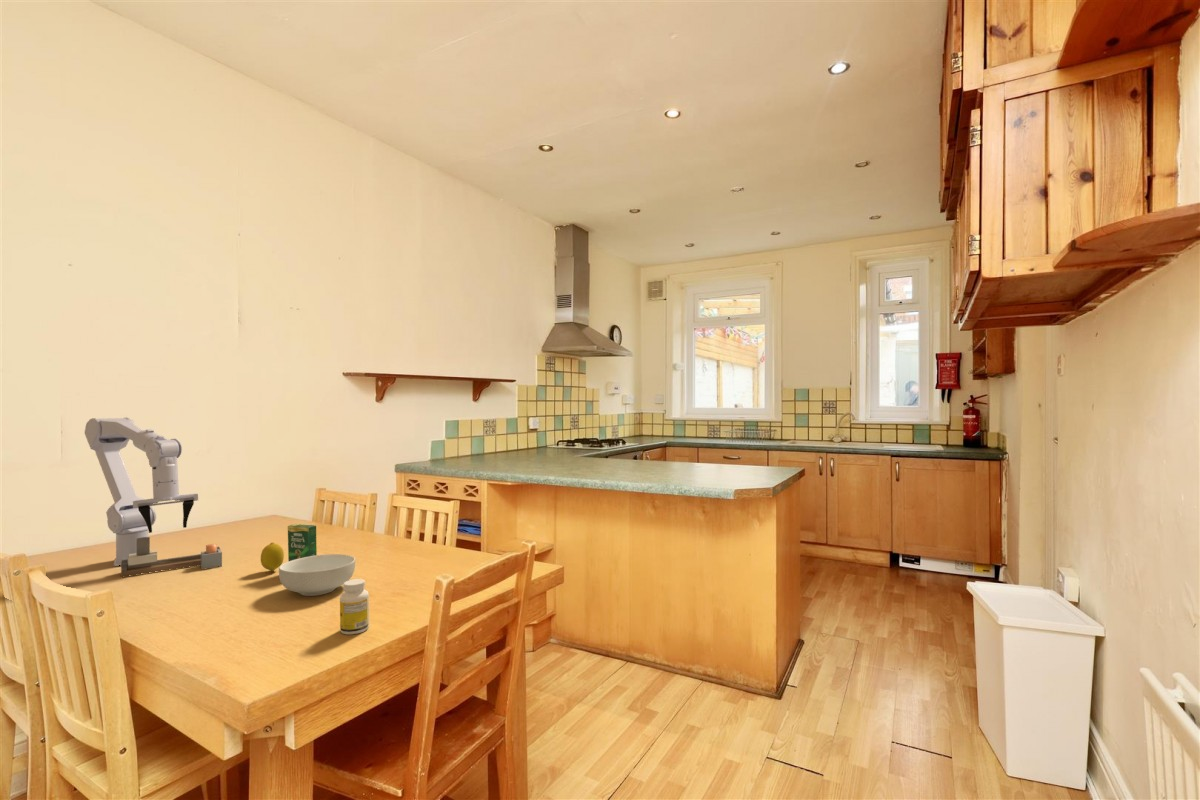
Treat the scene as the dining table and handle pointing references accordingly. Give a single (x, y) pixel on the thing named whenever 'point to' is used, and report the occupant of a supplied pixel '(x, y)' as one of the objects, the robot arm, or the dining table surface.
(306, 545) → the coffee box
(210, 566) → the box
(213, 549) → the orange cylindrical peg
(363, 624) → the supplement bottle
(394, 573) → the dining table surface
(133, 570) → the rail board
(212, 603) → the dining table surface
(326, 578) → the cereal bowl
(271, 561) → the lemon
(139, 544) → the carriage
